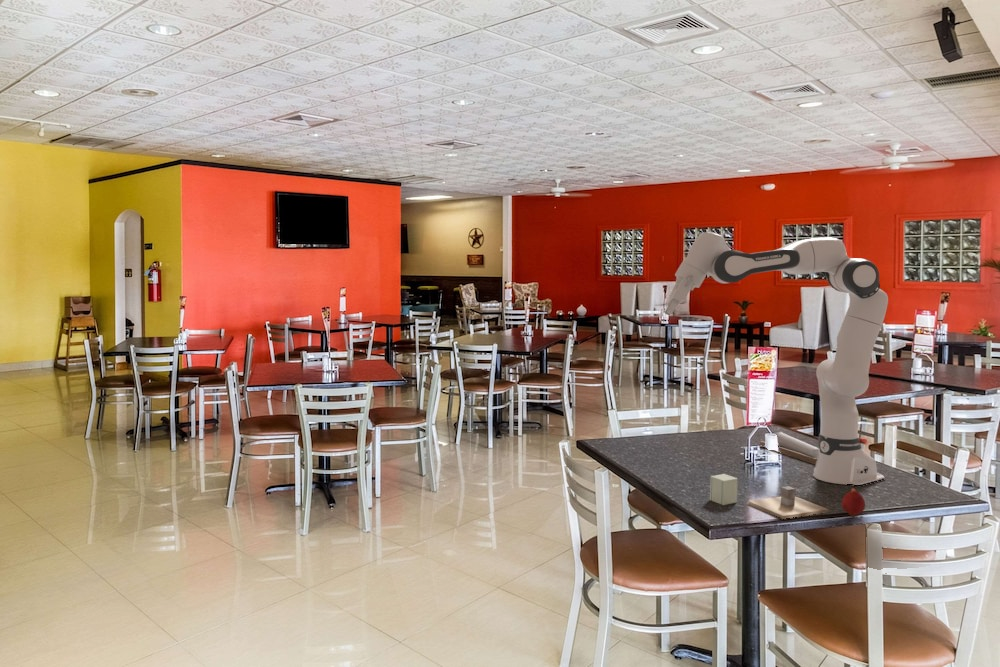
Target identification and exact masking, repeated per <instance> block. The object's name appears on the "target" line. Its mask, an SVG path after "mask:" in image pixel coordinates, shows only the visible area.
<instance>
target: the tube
mask: <svg viewBox="0 0 1000 667" xmlns="http://www.w3.org/2000/svg"><path fill="white" fill-rule="evenodd" d="M775 434H776V435H777V437H778V443H779V445H778V446H780V447H782V448H786V449H789V450H792V451H795V452H798V453H801V454H804V455H808V456H811V457H814V458H817V454H818V449H819V447H817V446H814V445H812V444H810V443H807V442H805V441H803V440H800V439H797V438H796V437H793V436H791V435H789V434H787V433H785V432H783V431H777V432H775Z"/></svg>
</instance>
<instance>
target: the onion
mask: <svg viewBox="0 0 1000 667" xmlns="http://www.w3.org/2000/svg"><path fill="white" fill-rule="evenodd" d="M841 507H842V509H843V510H844V511H845V512H846V513H847V514H848V515H849V516H850V517H851V516H852V517H851V518H854V517H856V516H858V515H860V514H862V513H863V512H864V510H865V508H866V501H865V499H864V497H863V495H861V494H860V493H859V492H858V491H857V490H856V489H855V488H850V491H848V492H847V493H846V494H844V496H843V497H842V500H841Z"/></svg>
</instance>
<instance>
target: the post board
mask: <svg viewBox="0 0 1000 667" xmlns="http://www.w3.org/2000/svg"><path fill="white" fill-rule="evenodd" d="M780 489H781V490H780V496H776V497H773V496H772V497H769V498H760V499H753V500H752V499H751V500H748V503H747V504H748V505H749V506H751V507H753V508H756V509H758V510H760V511H763V512H765V513H766V514H769V513H770V514H769V515H771V514H772V516H774V515H775V516H774V517H776V516H777V517H776V518H778V517H780V518H782V519H781V520H783V519H784V520H787V519H786V518H790V519H795V517H797V518H802V517H808V516H809V515H810V516H814V515H813V514H816V515H820V514H819V513H823V512H828V513H829V510H828V508H826V507H823V506H822V505H821V506H820V505H818V504H816V503H813V502H811V501H808V500H806V499H803V498H801V497H798V496H796V488H794V487H791V486H782V487H781V488H780ZM823 514H824V513H823ZM801 516H802V517H801ZM793 517H794V518H793ZM780 518H779V519H780Z"/></svg>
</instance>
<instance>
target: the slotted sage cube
mask: <svg viewBox="0 0 1000 667" xmlns="http://www.w3.org/2000/svg"><path fill="white" fill-rule="evenodd" d="M709 479H710V481H709V482H710V484H709V500H710V501H712V502H714V503H716V504H719V505H722V506H726V505H730V504H736V503H738V480H739V479H738V478H737V477H736V476H735V477H734V476H731V475H729V474H726V473H722V474H716V475H710V478H709Z"/></svg>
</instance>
